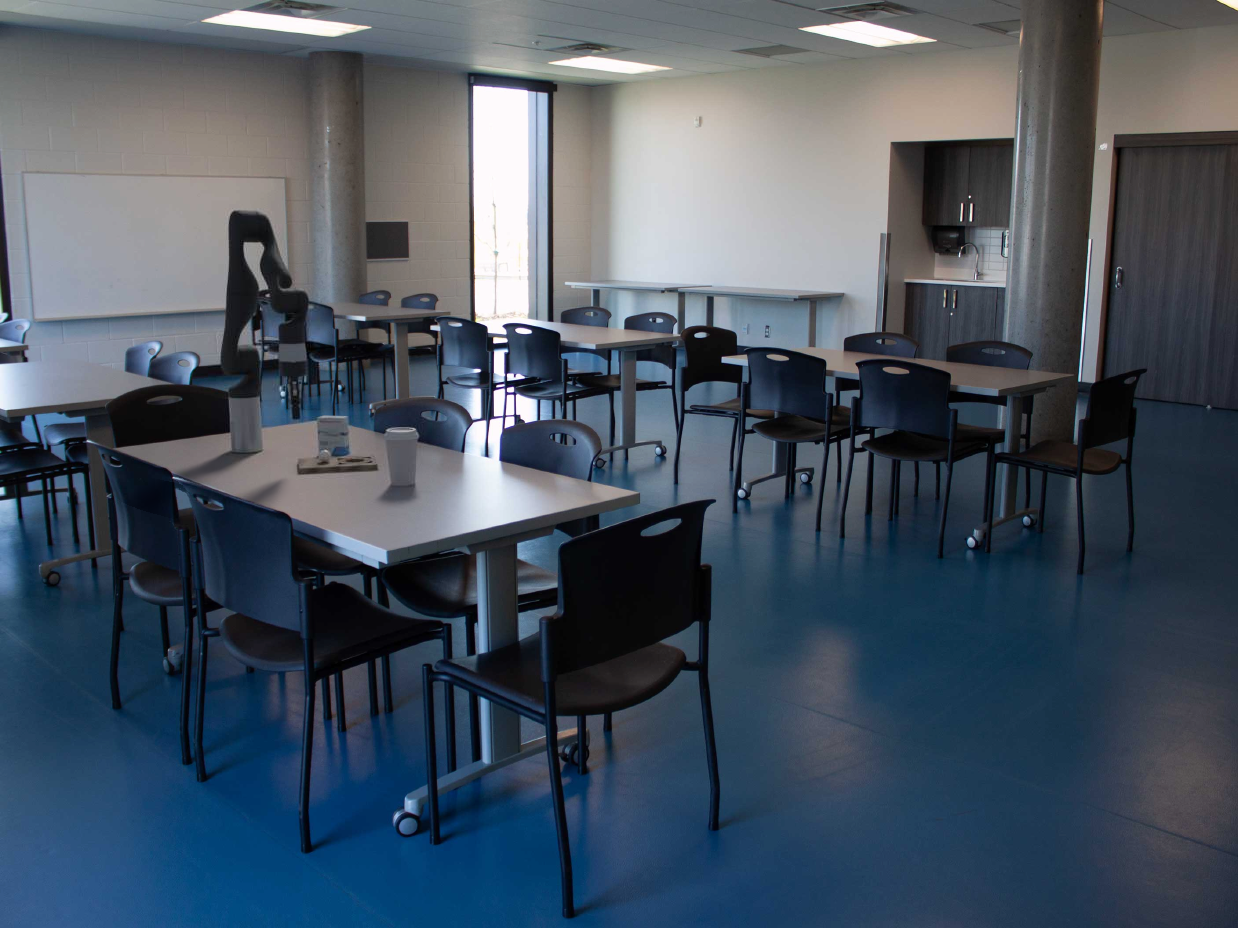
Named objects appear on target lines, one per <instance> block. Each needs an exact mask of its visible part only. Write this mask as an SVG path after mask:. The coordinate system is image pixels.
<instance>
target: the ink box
mask: <svg viewBox="0 0 1238 928" xmlns="http://www.w3.org/2000/svg"><path fill="white" fill-rule="evenodd" d="M316 423H317V424H316V427H317V428H316V429H317V444H318V445H317V446H318V447H317V448H318V454H319V453H320V452H321V451H323V450H327V451H329V452H330V454H331V456H347V455H348V454H349V453H350V433H349V432H350V431H349V415H348V416H347V415H345V416H344V415H322V416H318V417H317V418H316Z"/></svg>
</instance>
